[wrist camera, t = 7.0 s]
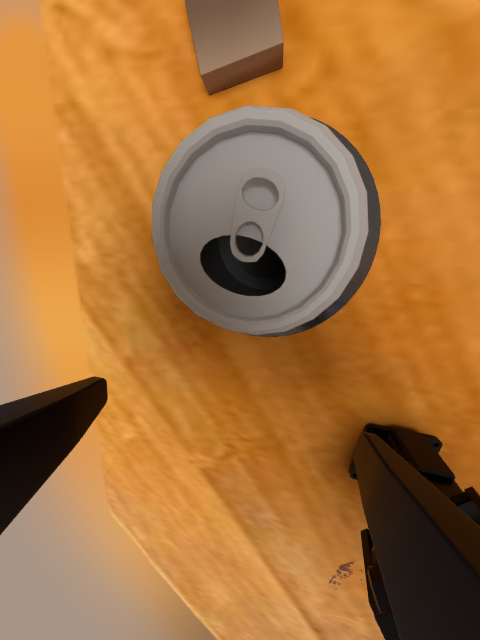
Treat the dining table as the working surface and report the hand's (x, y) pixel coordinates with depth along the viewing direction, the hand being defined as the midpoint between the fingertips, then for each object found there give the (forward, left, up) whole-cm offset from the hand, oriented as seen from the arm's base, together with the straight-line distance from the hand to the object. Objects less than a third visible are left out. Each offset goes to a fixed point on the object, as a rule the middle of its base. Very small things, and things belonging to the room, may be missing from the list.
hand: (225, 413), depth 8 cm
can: (+6, 0, -13) cm, 14 cm away
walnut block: (+18, +4, -13) cm, 23 cm away
